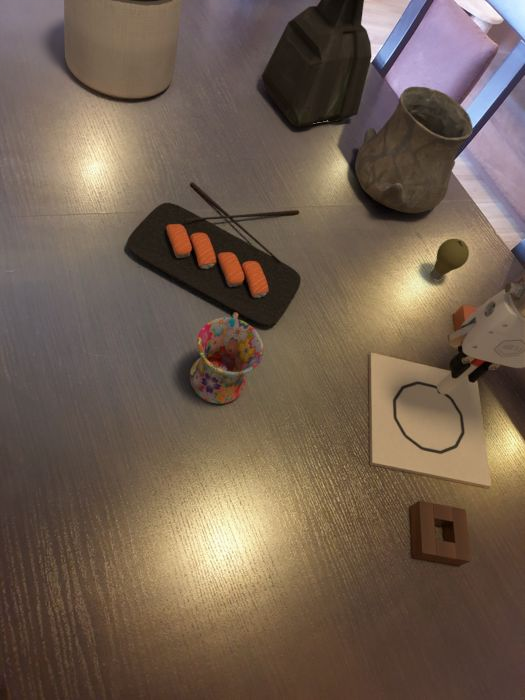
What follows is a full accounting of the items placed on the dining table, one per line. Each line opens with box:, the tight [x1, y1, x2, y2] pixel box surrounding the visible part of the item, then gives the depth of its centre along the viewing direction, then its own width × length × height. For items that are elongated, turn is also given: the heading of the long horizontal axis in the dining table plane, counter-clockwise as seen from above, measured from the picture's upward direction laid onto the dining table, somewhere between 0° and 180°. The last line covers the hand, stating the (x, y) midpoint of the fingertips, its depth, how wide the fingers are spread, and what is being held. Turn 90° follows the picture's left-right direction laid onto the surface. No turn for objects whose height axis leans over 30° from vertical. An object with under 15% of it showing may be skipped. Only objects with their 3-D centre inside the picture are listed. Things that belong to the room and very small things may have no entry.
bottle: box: [261, 0, 373, 128], centre depth 118 cm, size 18×16×30 cm
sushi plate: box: [126, 181, 301, 327], centre depth 101 cm, size 29×30×4 cm
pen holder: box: [452, 304, 479, 332], centre depth 104 cm, size 7×7×4 cm
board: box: [368, 352, 492, 489], centre depth 92 cm, size 20×20×1 cm
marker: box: [437, 358, 485, 394], centre depth 85 cm, size 2×2×12 cm
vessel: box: [354, 86, 474, 214], centre depth 114 cm, size 22×22×20 cm
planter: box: [63, 0, 184, 100], centre depth 112 cm, size 22×22×20 cm
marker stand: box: [409, 500, 472, 566], centre depth 81 cm, size 7×7×3 cm
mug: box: [189, 311, 264, 405], centre depth 83 cm, size 12×9×11 cm
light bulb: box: [429, 238, 470, 281], centre depth 107 cm, size 6×6×10 cm
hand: (461, 371), depth 85 cm, fingers closed on marker, 2 cm apart
